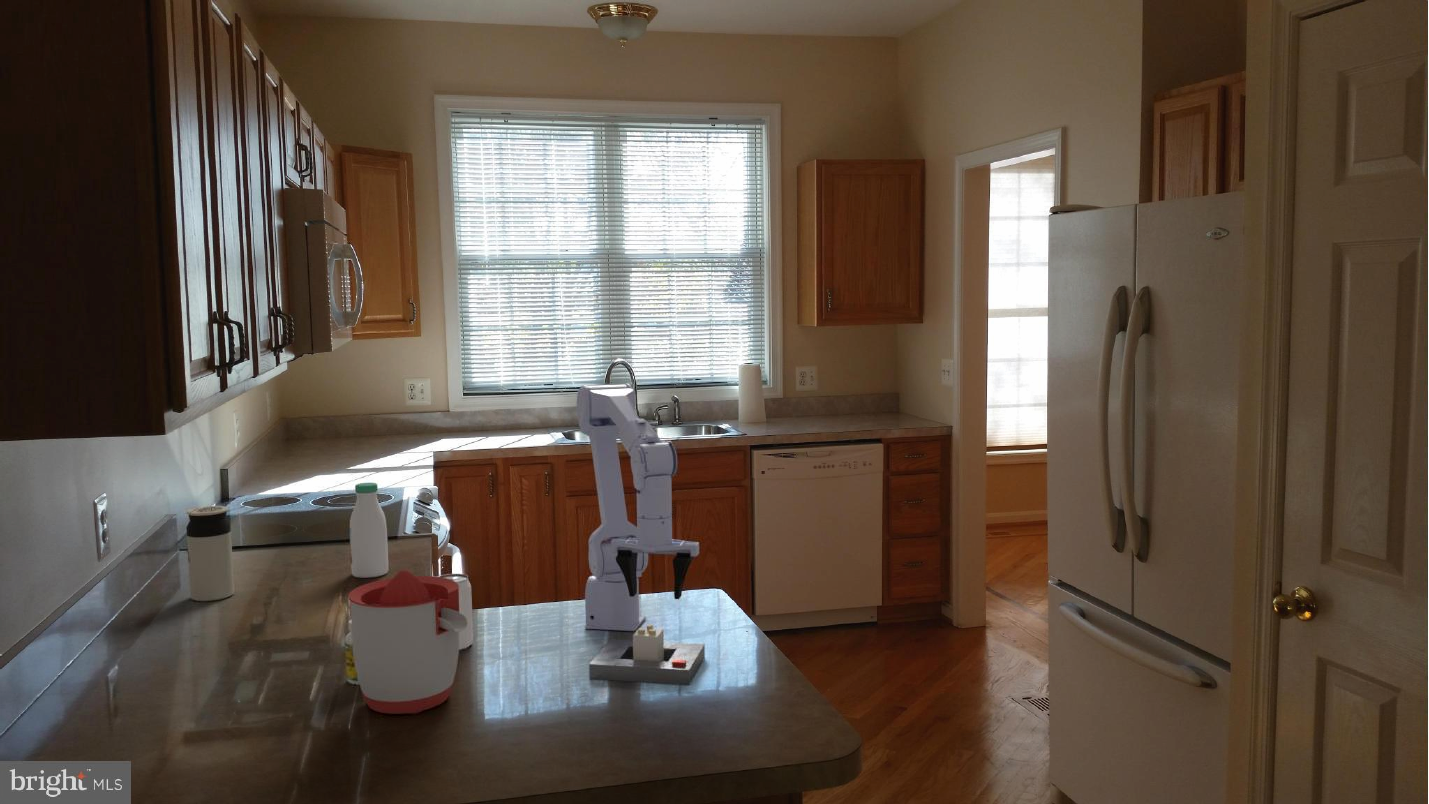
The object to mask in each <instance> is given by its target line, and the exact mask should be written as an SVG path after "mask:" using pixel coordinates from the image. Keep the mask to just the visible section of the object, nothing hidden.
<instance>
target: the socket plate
mask: <svg viewBox="0 0 1429 804" xmlns="http://www.w3.org/2000/svg"><path fill="white" fill-rule="evenodd" d="M705 645H706V644H704V643H690V642H689V643H688V642H686V643H685V642H684V643H683V642H671V641H664V662H663V661H647V660H633V639H619V638H618V639H617V638H616V639H615V638H614V639H613V638H610V640H609V641H608V642H607V644H605V645H604V646H603V648H602V649H601V650H600V651H599V652H598V653H597V655H596V656H595V657H594V658H593V659H592V660H591V661H590V662H589V664H588V670H589V673H588V674H589V680H599V679H602V680H601V681H617V682H632V683H633V682H634V683H647V684H649V683H650V684H663V685H664V684H665V685H679V686H689V685H691V683H692V681H693V679H694V677H695V676H696V674H697V672H698V671H699V669H700V667H701V666H702V664H703V662H704V660H705V659H706V656H705V655H706V653H705V651H706V650H705V649H706V647H705Z"/></svg>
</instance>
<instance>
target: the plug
mask: <svg viewBox="0 0 1429 804" xmlns="http://www.w3.org/2000/svg"><path fill="white" fill-rule="evenodd" d="M664 634H665V633H664V628H658V627H657V628H656V627H655V628H654V624H652V623H651V624H650V623H648V624H647V625H646V627H638V628H637V629H636V630H635V631H634V633H633V635H632V640H633V660H647V661H663V662H664V642H665V641H664V640H665V639H664V636H665V635H664Z"/></svg>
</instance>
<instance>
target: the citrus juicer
mask: <svg viewBox="0 0 1429 804" xmlns="http://www.w3.org/2000/svg"><path fill="white" fill-rule="evenodd" d="M348 600H349V601H350V612H351V613H350V614H351V619H352V640H353V656H354V665H355V670H356V674H357V678H358V681H359V684H360V685H359V687H360V690H361V694H362V696H363V698H364V700H365V702H366V704H367V706H368V707H369V708H370V709H371V710H373V711H375V712H379V713H383V714H389V715H390V714H391V715H398V714H399V715H402V714H410V715H417V714H420V713H422V712H423V711H426V710H430V709H432V708H434V707H437V706H440V705H441V704H442V703H444V702H445V701H446V700H447V699H449V696H450V693H451V691H452V689H453V686H454V683H455V676H456V673H457V667H458V662H459V661H458V660H459V654H460V652H459V632H460V631H462V630H464V629H465V628H466V627H467V619H466V617H465V616H464V615H463V614H461V613H459V585H458V584H457V583H456V582H455V581H453V580H450V579H447V578H442V577H438V576H429V575H428V576H427V575H426V576H425V575H414V574H413V573H412V572H410V571H408V570H407V569H401V570H400V571H399V572H398V573H397V574H395V575H394V576H393V577H392V578H385V579H380V580H377V581H376V580H375V581H371V582H369V583H366V584H363V585H359V586H357V587H355V588H353V590H351V591H350V592H349V594H348ZM351 619H350V620H351ZM419 712H420V713H419ZM416 713H417V714H416Z"/></svg>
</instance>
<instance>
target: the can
mask: <svg viewBox="0 0 1429 804" xmlns="http://www.w3.org/2000/svg"><path fill="white" fill-rule="evenodd" d="M437 577H442V578H447V579H450V580H453V581H455V582H456V583H457V584H458V585H459V613H461V614H463V615H464V616H465V617H466V619H467V627H466V628H465V629H464V630H462V631H460V632H459V650H460V651H463V650H462V649H464V650H466V649H468V648H470V647H471V646H472V644H473V642H474V640H473V639H474V636H473V634H474V631H473V629H474V628H473V627H474V626H473V604H472V601H473V600H472V585H471V583H470V581H469V576H468V574H464V573H447V574H442V575H438V576H437ZM470 645H471V646H470ZM469 646H470V647H469ZM467 647H468V648H467Z"/></svg>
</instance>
